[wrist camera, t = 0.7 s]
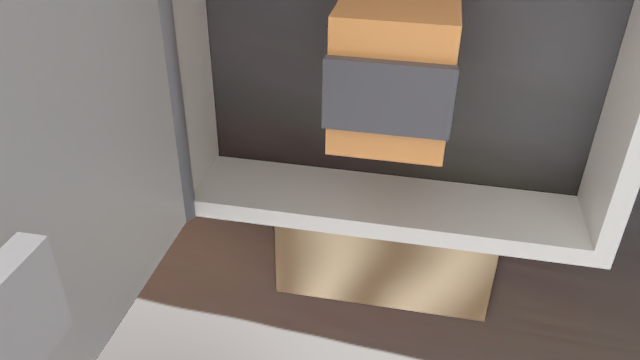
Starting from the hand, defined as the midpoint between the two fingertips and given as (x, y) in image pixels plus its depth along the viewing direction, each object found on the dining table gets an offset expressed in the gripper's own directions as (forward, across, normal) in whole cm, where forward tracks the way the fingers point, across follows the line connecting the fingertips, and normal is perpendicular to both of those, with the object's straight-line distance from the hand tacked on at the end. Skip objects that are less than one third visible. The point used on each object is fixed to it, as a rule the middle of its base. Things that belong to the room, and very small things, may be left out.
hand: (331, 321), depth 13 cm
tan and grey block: (+21, 0, 0) cm, 21 cm away
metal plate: (+21, 0, -15) cm, 26 cm away
